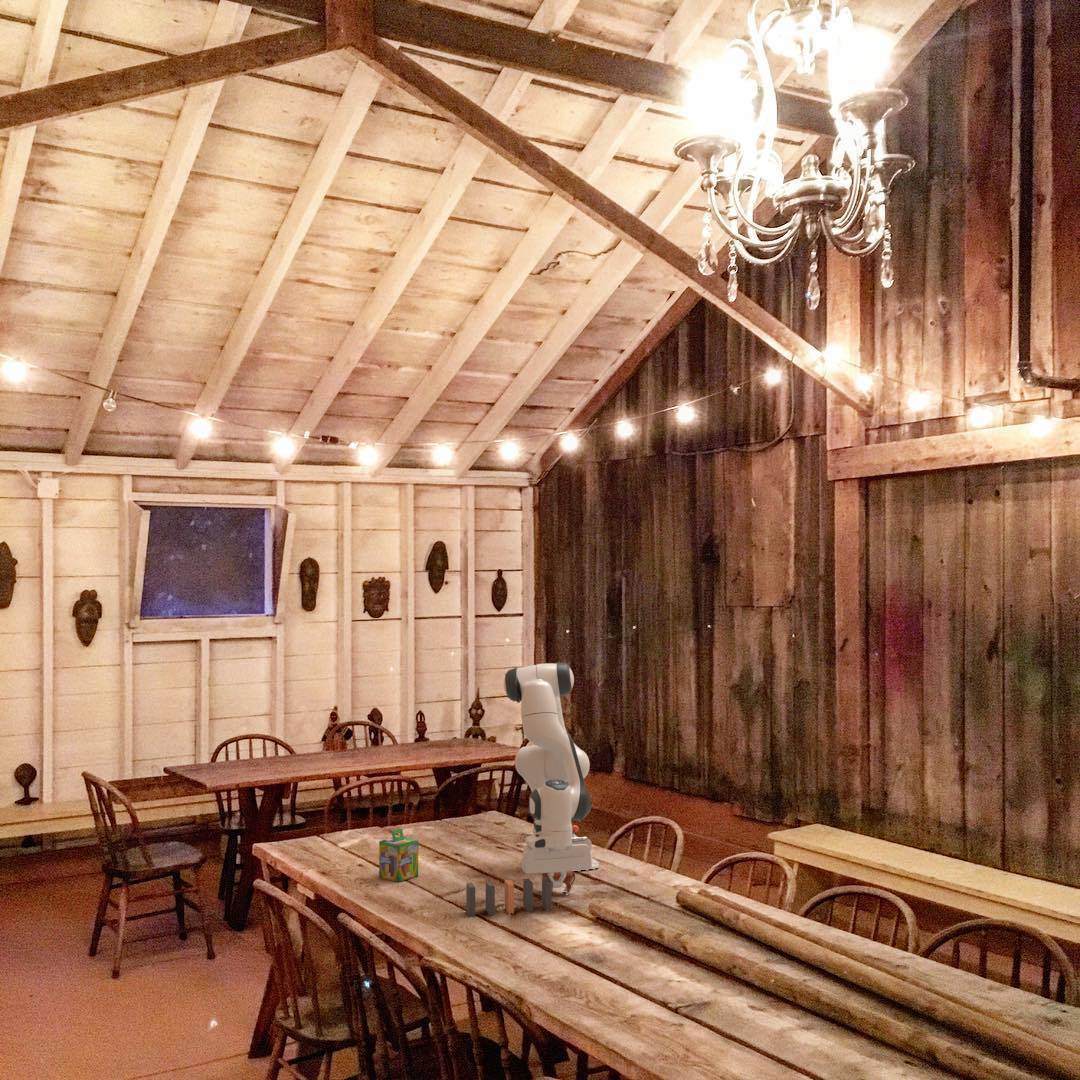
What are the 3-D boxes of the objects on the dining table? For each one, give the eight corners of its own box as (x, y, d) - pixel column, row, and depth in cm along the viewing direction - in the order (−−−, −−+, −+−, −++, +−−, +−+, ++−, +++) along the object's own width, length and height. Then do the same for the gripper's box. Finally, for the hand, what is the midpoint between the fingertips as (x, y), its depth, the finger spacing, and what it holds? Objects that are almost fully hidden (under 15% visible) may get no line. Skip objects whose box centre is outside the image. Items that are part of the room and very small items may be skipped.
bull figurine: (538, 887, 331) (538, 860, 331) (577, 893, 324) (577, 866, 324) (531, 890, 327) (531, 863, 327) (570, 897, 320) (570, 869, 320)
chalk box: (398, 883, 335) (399, 834, 336) (377, 878, 341) (378, 830, 341) (419, 876, 342) (419, 829, 343) (398, 872, 348) (399, 825, 348)
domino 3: (509, 908, 309) (510, 879, 309) (513, 913, 304) (514, 884, 305) (504, 908, 309) (504, 880, 309) (508, 913, 304) (508, 884, 304)
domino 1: (471, 911, 306) (472, 882, 307) (475, 916, 302) (475, 887, 302) (466, 911, 306) (466, 883, 306) (469, 916, 301) (469, 887, 301)
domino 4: (528, 906, 310) (528, 878, 311) (532, 911, 306) (532, 883, 306) (523, 907, 310) (523, 879, 310) (527, 912, 305) (527, 883, 306)
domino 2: (490, 909, 308) (491, 881, 308) (494, 914, 303) (494, 885, 303) (485, 910, 307) (485, 881, 308) (489, 915, 303) (489, 886, 303)
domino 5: (547, 905, 312) (547, 877, 312) (551, 910, 307) (551, 881, 308) (541, 905, 311) (541, 877, 312) (546, 910, 307) (546, 882, 307)
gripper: (588, 833, 317) (588, 881, 316) (520, 838, 311) (520, 886, 311) (594, 838, 311) (594, 887, 310) (525, 843, 305) (525, 892, 305)
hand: (556, 887), depth 310 cm, fingers closed
